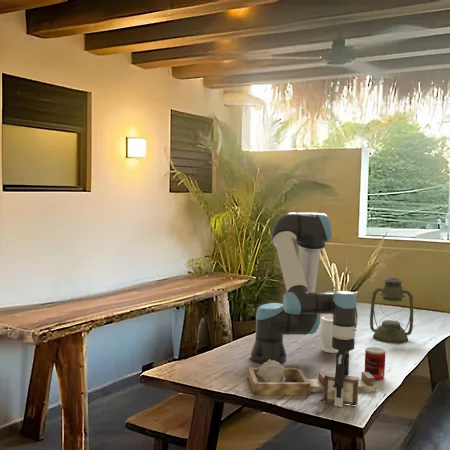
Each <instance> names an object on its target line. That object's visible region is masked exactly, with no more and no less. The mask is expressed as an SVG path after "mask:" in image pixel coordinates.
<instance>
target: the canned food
mask: <svg viewBox="0 0 450 450" xmlns="http://www.w3.org/2000/svg"><path fill="white" fill-rule="evenodd" d="M385 367H386V350H385V349H384V348H382V347H376V346H375V347H373V346H372V347H371V346H370V347H366V348H365V353H364V371H363V372H369V373H370V374H371V375H372V376H373V377H374V378H375V381H377V382H378V381H382V380H384V379H385V371H386V370H385V369H386V368H385Z"/></svg>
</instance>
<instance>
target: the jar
mask: <svg viewBox="0 0 450 450" xmlns="http://www.w3.org/2000/svg"><path fill="white" fill-rule="evenodd" d="M320 321H321V325H320V338H321V339H320V340H321V344H322V351H323V352H325V353H329V354H330V353H332V354H337V353H338V350H337V349H334V348H333V347H332V337H333V335H332V329H333V315H324V316H322V317H321V316H320Z"/></svg>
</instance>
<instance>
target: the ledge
mask: <svg viewBox="0 0 450 450" xmlns="http://www.w3.org/2000/svg"><path fill="white" fill-rule="evenodd" d="M326 373H327V372H326V371H318V375H317V376H318V378H315V379H314V378H307V379H308V381H309V382H310V384H311V387H310V393H311V392H312V393H324V380H325V375H326ZM375 381H376V380H375V378H374V377H373V376H372V375H371V374H370V373H369V372H364V371H361V377H360V378H359V382H358V393H360V392H361V393H367V392H366V391H370V393H372V392H371V391H376V392H377V386H376V385H375ZM359 391H360V392H359Z"/></svg>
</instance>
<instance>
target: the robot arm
mask: <svg viewBox="0 0 450 450" xmlns="http://www.w3.org/2000/svg"><path fill="white" fill-rule="evenodd" d="M332 230H333V229H332V224H331V220H330V218H329V216H328V214H326V213H322V212H321V213H319V212H295V211H294V212H293V211H292V212H286V213H284V214H283V215H281V216H280V217H279V218H278V219H277V220H276V221H275V223H274V225H273V227H272V230H271V240H272V245H273V247H275V248H276V251H277V256H278V259H279V260H278V261H279V263H280V269H281V272H282V277H283V280H284V284H285V288H286V292H285V293H284V294H283V298H282V303H281V302H270V303H265V304H261V305H259V306H258V307H257V309H256V314H255V320H256V321H255V341H254V344H253V346H252V349H251V351H250V359H251V360H252V361H254V362H256V363H259V364H263V363H266V362H267V361H268V360H269V359H271V360H272V361H273V360H275V361H276V362H279V363H280V364H282V363H285V362H286V361H287V351H286V349H285V344H284V335H293V336H294V335H300V336H301V335H303V336H307V335H313V334H315V333H317V331H318V330H319V326H320V323H321V315H323V314H324V315H326V314H327V315H329V314H330V315H332V316H333V329H332V335H333V337H332V347H333V348H334V349H337V350H338V353H335V373H334V374H335V385H333V387H335V403H333V405H334V407H337V406H338V407H339V408H344V405H343V391H344V388H343V381H344V375H347V376H350V375H349V374H350V371H349V368H350V367H349V363H350V359H349V358H350V352H351V351H352V350H354V349H355V345H356V344H355V335H356V332H357V330H358V329H357V328H355V327H356V320H357V319H356V318H357V317H356V314H357V304H358V303H357V302H358V301H357V295H356V293H355V292H353V291H350V290H338V291H336V290H326V291H324V292H316V286H317V279H318V273H319V263H320V256H321V251H322V250H323V249H325V247H326V243H328V242H331V239H332ZM297 246H298V247H297ZM298 248H299V250H298ZM338 407H337V408H338Z"/></svg>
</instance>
